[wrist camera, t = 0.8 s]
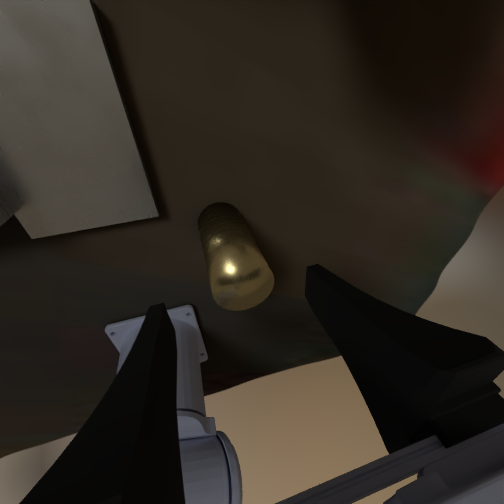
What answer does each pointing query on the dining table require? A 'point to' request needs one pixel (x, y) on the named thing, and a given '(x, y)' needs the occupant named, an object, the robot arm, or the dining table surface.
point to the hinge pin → (233, 259)
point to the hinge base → (65, 123)
